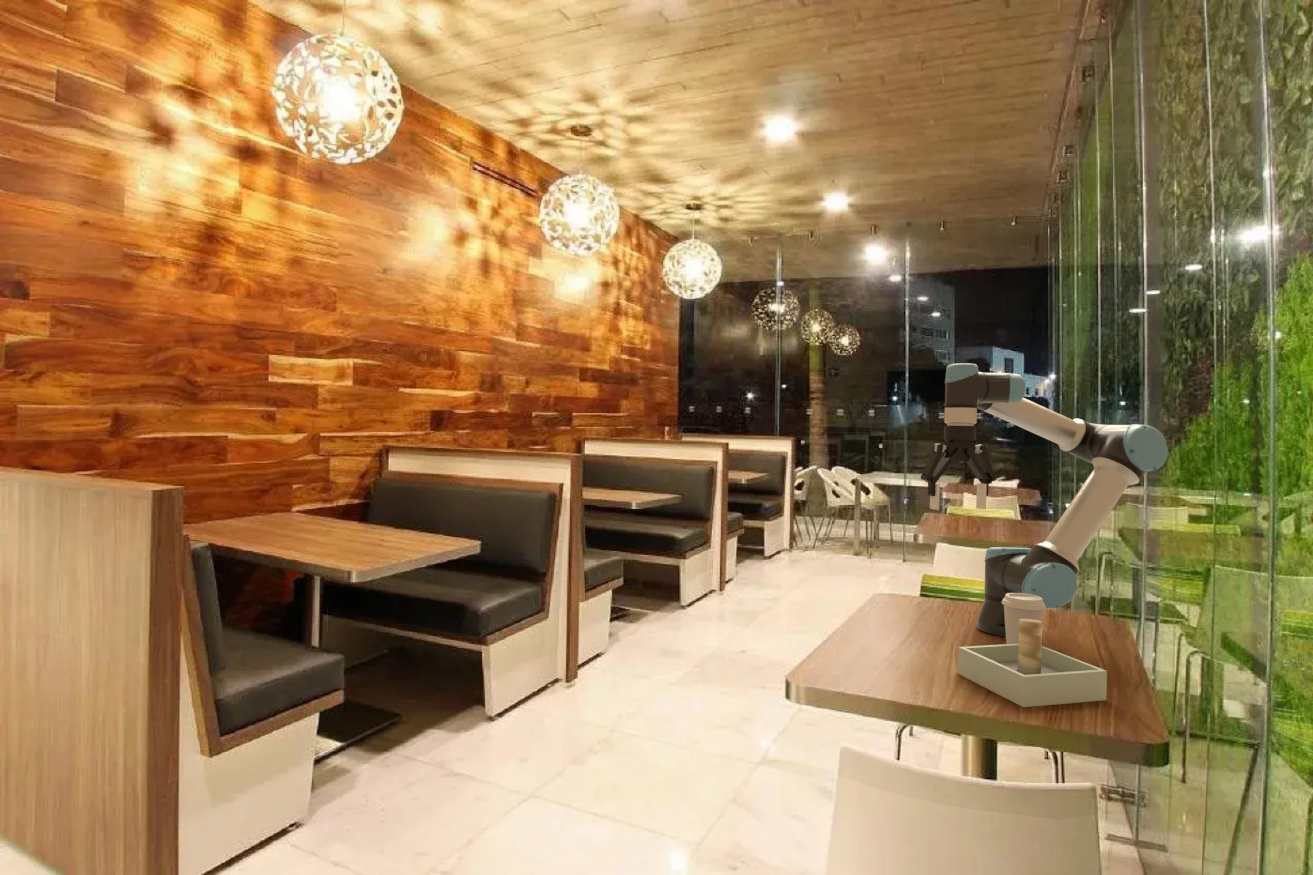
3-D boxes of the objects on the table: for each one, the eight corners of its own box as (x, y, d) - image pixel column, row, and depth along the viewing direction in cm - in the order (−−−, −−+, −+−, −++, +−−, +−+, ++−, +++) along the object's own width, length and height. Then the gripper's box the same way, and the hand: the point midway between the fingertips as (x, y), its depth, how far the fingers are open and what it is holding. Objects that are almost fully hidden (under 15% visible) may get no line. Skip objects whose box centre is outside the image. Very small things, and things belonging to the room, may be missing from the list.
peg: (1029, 682, 159) (1031, 618, 159) (1045, 689, 155) (1047, 623, 155) (1012, 683, 158) (1014, 619, 158) (1027, 691, 154) (1029, 624, 154)
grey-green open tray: (1033, 668, 169) (1033, 642, 169) (1106, 700, 149) (1107, 670, 149) (957, 673, 164) (958, 647, 164) (1023, 707, 144) (1024, 676, 144)
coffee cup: (1040, 655, 179) (1042, 594, 179) (1047, 667, 170) (1049, 602, 170) (997, 650, 182) (999, 590, 182) (1002, 661, 173) (1004, 598, 173)
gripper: (992, 426, 191) (989, 507, 192) (907, 423, 185) (905, 507, 186) (1012, 426, 184) (1010, 510, 184) (925, 423, 178) (923, 511, 178)
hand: (957, 509), depth 185 cm, fingers open, 13 cm apart
